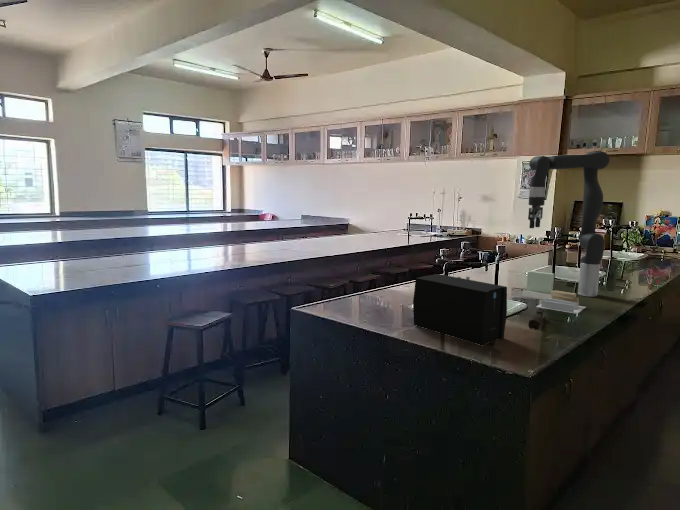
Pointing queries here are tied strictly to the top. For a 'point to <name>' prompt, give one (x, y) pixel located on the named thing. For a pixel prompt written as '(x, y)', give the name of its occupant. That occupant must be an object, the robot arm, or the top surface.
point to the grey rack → (561, 305)
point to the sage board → (540, 282)
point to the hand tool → (536, 319)
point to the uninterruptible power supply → (460, 307)
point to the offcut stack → (564, 296)
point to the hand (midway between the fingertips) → (534, 227)
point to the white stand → (536, 295)
